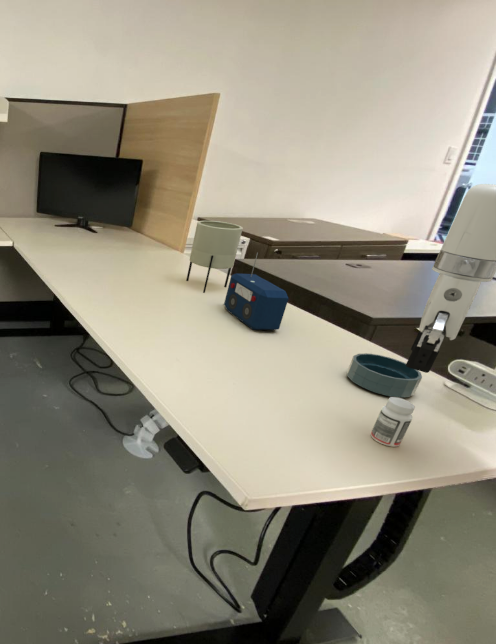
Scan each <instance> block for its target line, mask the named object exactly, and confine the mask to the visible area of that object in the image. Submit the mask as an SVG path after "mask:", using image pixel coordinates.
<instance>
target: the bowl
mask: <svg viewBox="0 0 496 644" xmlns="http://www.w3.org/2000/svg"><path fill="white" fill-rule="evenodd" d="M406 363H407V362H404V361H402V360H398V359H396V358H394V357H393V358H392V357H390V356H384V355H381V354H376V353H367V352H365V353H357V354H355V355H353V356H352V358H351V360H350V364H349V366H348V368H347V371H346V377H347V378H349V380H350V382H353V383H354V384H356V385H358V386H359V387H361V388H363V389H365V390H367V391H370V392H372V393H375V394H378V395H382V396H386V397H398V398H411V397H412V396H414V394H415V393H416V391H417V389H418V387H419V385H420V383H421V381H422V379H423V376H422V371H419V370H415V369H412V368H409V367H407V366H406Z"/></svg>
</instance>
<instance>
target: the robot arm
mask: <svg viewBox="0 0 496 644" xmlns="http://www.w3.org/2000/svg"><path fill="white" fill-rule="evenodd" d="M431 270H432V271H433V272H435V273H438V276H437V278H436V281H435V283H434V285H433V287H432V290H431V292H430V294H429V296H428V298H427V301H426V304H425V307H424V309H423V313H422V315H421V319H420V323H419V328H418V330H419V331H418V333H417V335H416V337H415V339H414V340H413V344H412V345H411V348H410V350H411V352H410V355H409V357H408V359H407V361H406V362H405V363H406V366H407V367H409V368H412V369H415V370H418V371H419V372H421V373H425V374H427V373H428V374H429V373H430V371H431V369H432V367H433V365H434V363H435V361H436V360H437V357H438V355H439V353H440V348H441V347H442V346H441V345H442V343H443V341H444V338H445V337H446V338H448V339H449V341H453V340H455V339H456V338H457V336H458V334H459V332H460V330H461V327H462V325H463V324H464V321H465V319H466V317H467V315H468V313H469V311H470V309H471V307H472V305H473V302H474V300H475V298H476V295H477V293H478V292H479V289H480V286H481V283H489V282H492V280H493V278H494V276H495V275H496V184H493V183H492V184H490V183H480V184H475V185H473V186H472V187H470V188H469V189H468V190H467V191H466V194H465V195H464V197H463V199H462V202H461V204H460V206H459V208H458V210H457V213H456V215H455V217H454V219H453V221H452V224H451V226H450V227H449V230H448V232H447V235H446V237H445V239H444V241H443V244H442V247H441V248H440V251H439V253H438V254H437V257H436V258H435V261H434V263H433V265H432V268H431Z"/></svg>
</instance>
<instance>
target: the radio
mask: <svg viewBox="0 0 496 644" xmlns="http://www.w3.org/2000/svg"><path fill="white" fill-rule="evenodd" d="M255 255H256V256H255V259H254V262H253V266H252V271H251V273H233V274H232V275H230V278H229V282H228V285H227V286H228V287H227V291H226V293H225V294H226V295H225V299H224V303H223V305H224V307H225V310H226V311H227V312H229V313H230V314H231V315H233V316H234V317H235V318H236V319H238V320H239V321H240V322H242V323H243V324H245V326H247V327H248V328H249V329H251V330H252V331H276V330H280V327H281V325H282V321H283V318H284V314H285V311H286V308H287V305H288V302H289V296H288V293H287V292H286V290H284V289H283V288H281V287H279V286H277V285H275V284H274V283H272V282H271V281H269V280H266V279H265V278H262V276H260V275H258V274H256V273H254V270H255V265H256V262H257V258H258V255H259V252H258V251H257V252H256V254H255Z"/></svg>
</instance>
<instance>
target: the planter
mask: <svg viewBox="0 0 496 644" xmlns="http://www.w3.org/2000/svg"><path fill="white" fill-rule="evenodd" d="M243 229H244V228H243V226H241V225H239V224H236V223H231V222H226V221H218V220H199V221H197V222H196V227H195V232H194V236H193V241H192V246H191V252H190V256H189V265H188V270H187V275H186V280H185V281H186V282H189V279H190V275H191V271H192V266H193V264H194V265H197V266H199V267H204V268H208V269H207V273H206V278H205V281H204V282H205V283H204V286H203V291H202V293H203V294H205V293H206V289H207V286H208V282H209V278H210V272H211V269H214V270H215V269H217V270H227V269H228V270H227V274H226V278H225V282H224V285H223V287H224V288H228V287H227V286H228V284H229V280H230V276H231V275H230V274H231V271H232V268H233V267H234V265H235V260H236V258H237V257H236V256H237V252H238V248H239V246H240V240H241V237H242V233H243Z"/></svg>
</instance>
